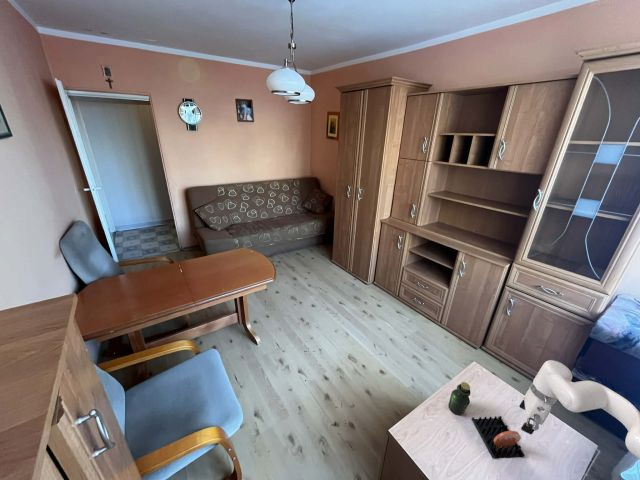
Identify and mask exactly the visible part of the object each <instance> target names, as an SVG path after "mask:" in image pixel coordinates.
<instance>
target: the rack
mask: <svg viewBox="0 0 640 480" xmlns="http://www.w3.org/2000/svg"><path fill="white" fill-rule="evenodd" d="M502 418H503V416H501V415H499V416H495V415H494V417H492V416H489V417H487V416H484V417H483V418H482V416H479V417H478V418H475V417H473V416H472V417H471V421H472V423H473V425H474V427H475V429H476V430H477V432H478V434H479V436H480V438H481V440H482V442H483V444H484V446H485V447H486V449H487V451H488V453H489V455H490V456H491V457H490V458H492V459H495V460H496V459H517V458H518V459H520V458H521V459H522V458H525V457H526V454H525V453H524V452H523V450H522V446H521V445H519V444H518V443H516V444H515V445H513V446H508V447H507V448H504V446H502V447H501V449H499V447H498V446H496V445H495V444H494V442H493V440H494V438H495V437H496V436H497V435H499V434H500V433H503V432H506V431H510V429H509V425H507V424H506V423H505V422H504V420H503V419H502Z"/></svg>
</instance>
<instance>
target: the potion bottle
mask: <svg viewBox="0 0 640 480" xmlns="http://www.w3.org/2000/svg"><path fill="white" fill-rule="evenodd" d="M470 396H471V386H470V384H469V383H468V382H466V381H462V382H461V383H460V384H458V385H457V386H456V388H454V389H453V390H452V391H451V393H450V397H449V401H448V404H447V406H448V409H449V411H450V412H451V413H452V414H453V415H455V416H457V417H459V416H462V415H463V413H465V411H466V410H467V408H468V407H469V405H470V403H471V400H470Z"/></svg>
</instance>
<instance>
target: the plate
mask: <svg viewBox="0 0 640 480" xmlns="http://www.w3.org/2000/svg"><path fill="white" fill-rule="evenodd" d="M521 440H522V436H521V434H520V433H519V432H518V431H516V430H509V431H506V432H503V433H500V434H499V435H497V436H496V437H495V438H494V440H493V442H494V444H495V445H496V446H498V447H499V449H501V447H502V446H504V448H507V447H508V446H513V445H515V444H516V443H517V444H518V443H519V442H520V441H521Z"/></svg>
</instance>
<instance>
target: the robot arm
mask: <svg viewBox="0 0 640 480" xmlns="http://www.w3.org/2000/svg"><path fill="white" fill-rule="evenodd" d="M572 380H573V373H572V371H571V370H570V368H568V366H566V365H565V364H563V363H561V362H560V361H557V360H554V359H549V360H546V361H545V362H544V363H543V364H542V366H541V367H540V369H539V370H538V372H537V373H536V375H535V377H534V378H533V380H532V382H531V383H530V385H529V387H528V390H527V391H526V393H525V395H524V397H523V399H522V400H521V402H520V404H519V406H518V407H519V409H521V410H524V411H525V416H526V421H524V423H523V424H522V426H521V427H520V430H521V431H522V432H524V433H526V434H528V435H533V434H534V432H536V431H538V430H539V428H540V425H541V426H542V425H544V423H545V421H546V420H547V419H548V417H549V415H550V413H551V411H552V408H553V405H554V404H556V402H557V401H558V402H559V403H560V404H561V405H562V406H563V408H565V409H566V410H568V411H570V412H571V413H582V412H588V411H592V410H597V409H602V410H603V411H605V412H606V413H608V414H609V415H611V416H612V417H613V418H615V419H616V420H618V421H619V422H620V423H621V424H622V425H623V426H624V427H625V429H627V430H626V431H627V434H626V436H625V441H624V442H625V447H626V449H627V451H629V453H631V454H632V455H633V456H635V457H636V458H637V459H639V460H640V410H638V409H637V407H636V406H635V405H633V404H632V402H630V401H629V400H628V399H626V398H625V397H623V396H622V395H621V394H618V392H615V391H613V390H612V389H610V388H609V387H607V386H605V385H603V384H601V383H599V382H596V381H593V380H581V381H579V380H578V381H575V382H574V381H572ZM531 421H532V422H533V423H531Z"/></svg>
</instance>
